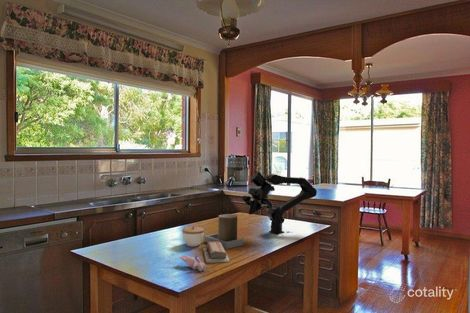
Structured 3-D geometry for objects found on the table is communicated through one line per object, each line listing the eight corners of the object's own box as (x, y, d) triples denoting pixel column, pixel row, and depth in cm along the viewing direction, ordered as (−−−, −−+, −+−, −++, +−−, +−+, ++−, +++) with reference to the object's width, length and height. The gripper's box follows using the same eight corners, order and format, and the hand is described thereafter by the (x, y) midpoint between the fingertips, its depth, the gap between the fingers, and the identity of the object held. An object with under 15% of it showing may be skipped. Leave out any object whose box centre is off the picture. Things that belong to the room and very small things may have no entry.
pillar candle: (238, 244, 170) (238, 214, 170) (218, 245, 169) (219, 214, 169) (235, 239, 180) (236, 211, 180) (217, 240, 179) (217, 211, 179)
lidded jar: (194, 240, 177) (195, 222, 177) (208, 244, 170) (208, 226, 169) (177, 244, 170) (177, 225, 170) (190, 249, 162) (191, 229, 162)
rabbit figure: (211, 273, 136) (185, 259, 145) (213, 258, 135) (187, 245, 144) (200, 277, 131) (174, 262, 140) (203, 263, 130) (176, 249, 139)
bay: (221, 237, 183) (221, 232, 183) (243, 244, 171) (243, 238, 171) (204, 241, 175) (204, 235, 175) (226, 249, 163) (226, 243, 163)
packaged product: (203, 240, 161) (223, 240, 163) (202, 251, 161) (223, 250, 163) (206, 252, 143) (230, 251, 145) (206, 264, 144) (229, 263, 145)
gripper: (244, 181, 195) (230, 202, 188) (269, 184, 181) (254, 207, 174) (253, 193, 201) (240, 215, 193) (278, 197, 187) (265, 220, 180)
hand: (249, 214), depth 185 cm, fingers closed
